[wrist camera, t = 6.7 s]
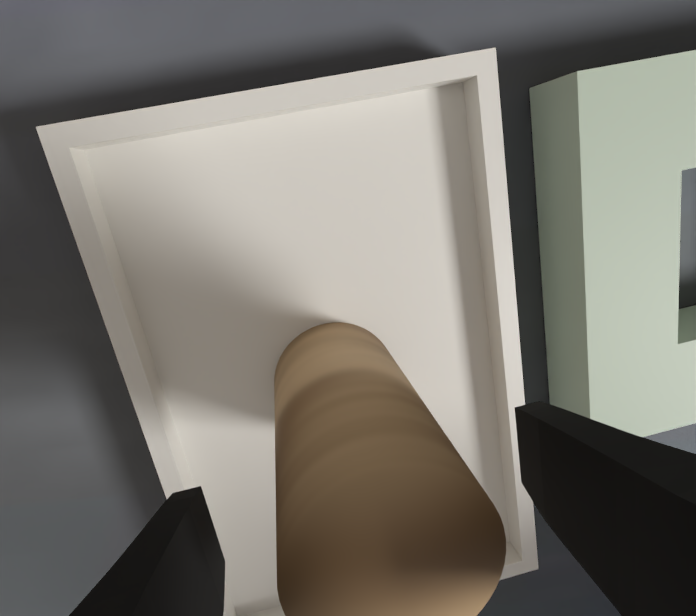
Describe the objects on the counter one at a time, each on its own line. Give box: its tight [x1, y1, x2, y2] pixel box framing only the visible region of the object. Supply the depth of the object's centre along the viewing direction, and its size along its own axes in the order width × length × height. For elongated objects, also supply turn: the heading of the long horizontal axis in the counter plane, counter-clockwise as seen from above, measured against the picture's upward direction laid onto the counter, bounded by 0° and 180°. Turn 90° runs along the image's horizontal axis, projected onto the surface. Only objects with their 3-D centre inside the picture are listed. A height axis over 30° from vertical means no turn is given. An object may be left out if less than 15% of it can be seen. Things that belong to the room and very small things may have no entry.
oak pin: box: [274, 322, 506, 616], centre depth 12 cm, size 4×4×8 cm
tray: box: [36, 48, 539, 616], centre depth 16 cm, size 18×12×2 cm, turn 11°
